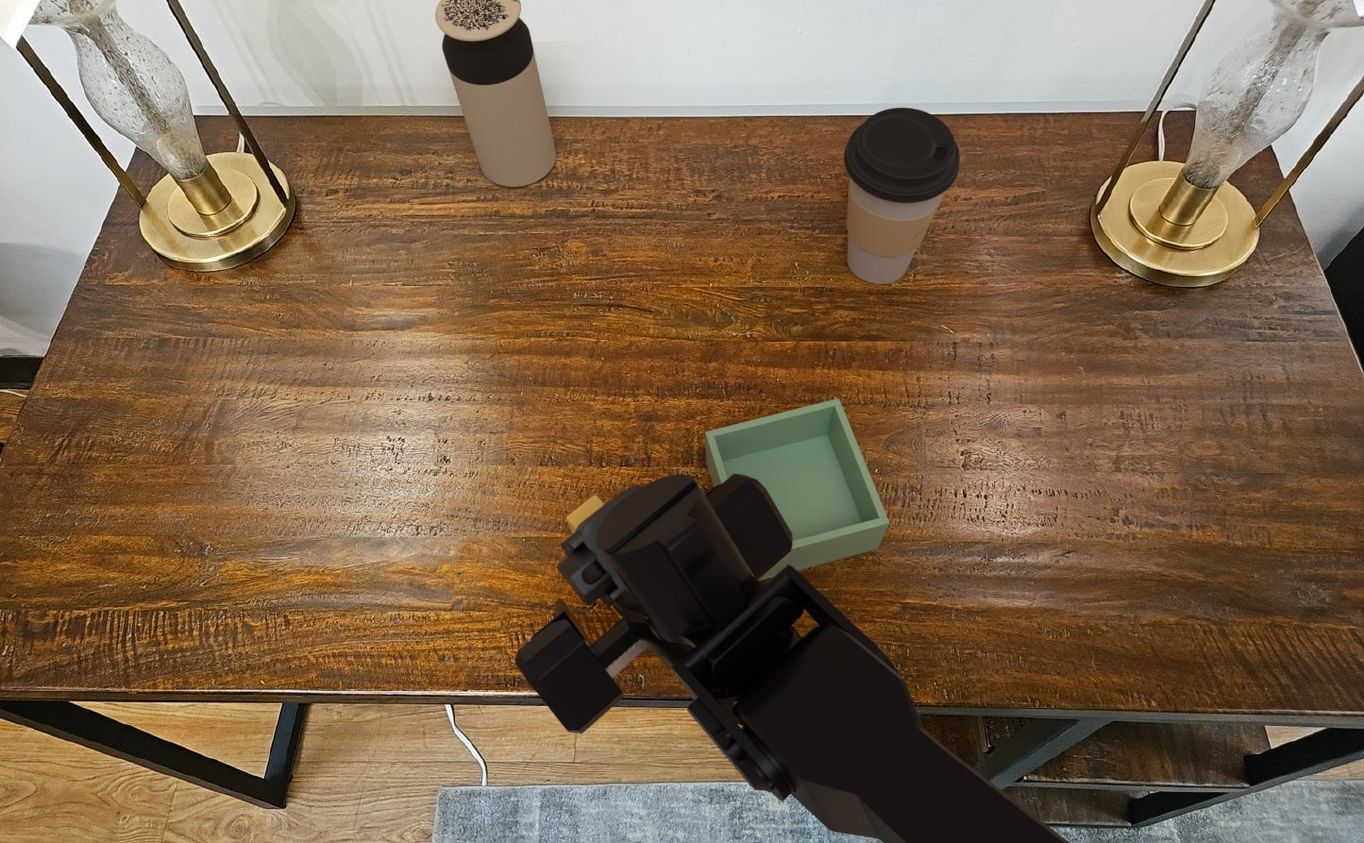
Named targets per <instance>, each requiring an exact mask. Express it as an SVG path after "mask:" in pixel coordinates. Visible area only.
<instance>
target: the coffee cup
mask: <svg viewBox="0 0 1364 843" xmlns="http://www.w3.org/2000/svg"><path fill="white" fill-rule="evenodd" d="M843 163H844V167H845V170H846V172H847V174H848V176H849V178H848V195H847V217H846V229H847V230H846V231H847V254H846V256H847V257H846V261H847V266H848V268H849V270H850V272H851V273H852V274H853V275H854V276H856V277H857V278H858V279H861V280H862V281H865V282H867V283H871V284H876V285H889V284H892V283H895V282H897V281H899V280H900V279H901V278H902V277H903V276H904V275H905V274H906V272H907V270H908V268H909V266H910V264H911V262H912V260H913V257H914V255H915V254H916V251H917V249H918V248H919V246H920V245H921V244H922V242H923V240H924V238H925V236H926V233H927V231H928V230H929V227H930V225H931V223H932V221H933V219H934V217H935V214H936V213H937V210H938V208H939V206H940V204H941V202H942V200H943V197H944V193H945V192H946V191H947V190H948V189H950V188H951V187H952V185H953V184H954V183H955V181H956V179H957V177H958V175H959V172H960V166H961V165H960V164H961V153H960V148H959V146H958V144H957V142H956V140H955V138H954V134H953V133H952V131H951V130H950V128H949V127H948V125H947V124H946V123H945V122H944V121H942V120H941V119H940V118H939V117H937V116H935V115H934V114H931V113H930V112H927V111H924V110H922V109H917V108H914V107H913V108H912V107H891V108H886V109H884V110H881V111H880V110H879V111H878V112H875V113H873V114H872V115H871V116H869V117H868V118H867V119H865V121H864V122H863V123H861V124H860V125H858V127H857V128H855V129H854V131H853V132H852V133H851V135H850V137H849V138H848V141H847V143H846V146H845V149H844V152H843Z"/></svg>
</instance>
